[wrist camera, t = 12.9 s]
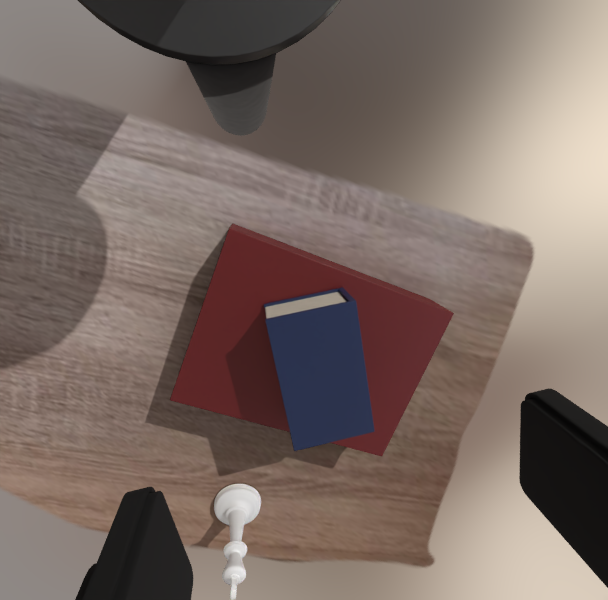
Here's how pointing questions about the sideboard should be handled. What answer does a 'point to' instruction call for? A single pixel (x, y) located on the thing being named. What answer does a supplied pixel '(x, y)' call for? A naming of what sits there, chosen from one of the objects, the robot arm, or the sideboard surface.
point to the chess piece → (236, 527)
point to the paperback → (320, 367)
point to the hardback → (256, 344)
